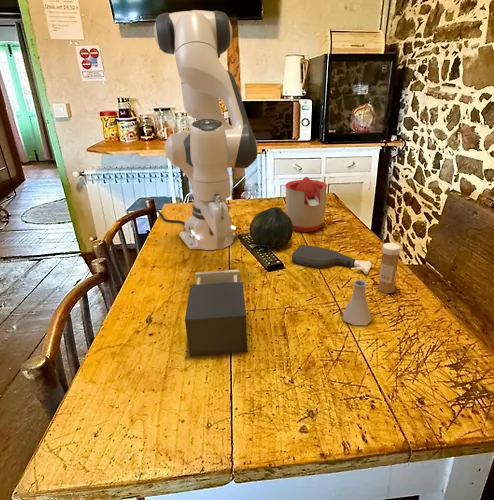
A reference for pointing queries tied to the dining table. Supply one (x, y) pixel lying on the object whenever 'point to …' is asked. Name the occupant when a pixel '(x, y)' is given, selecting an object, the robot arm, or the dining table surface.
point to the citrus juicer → (306, 204)
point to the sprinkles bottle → (389, 267)
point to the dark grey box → (216, 319)
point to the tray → (217, 277)
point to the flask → (357, 306)
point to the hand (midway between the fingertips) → (216, 241)
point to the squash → (271, 228)
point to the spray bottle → (326, 258)
